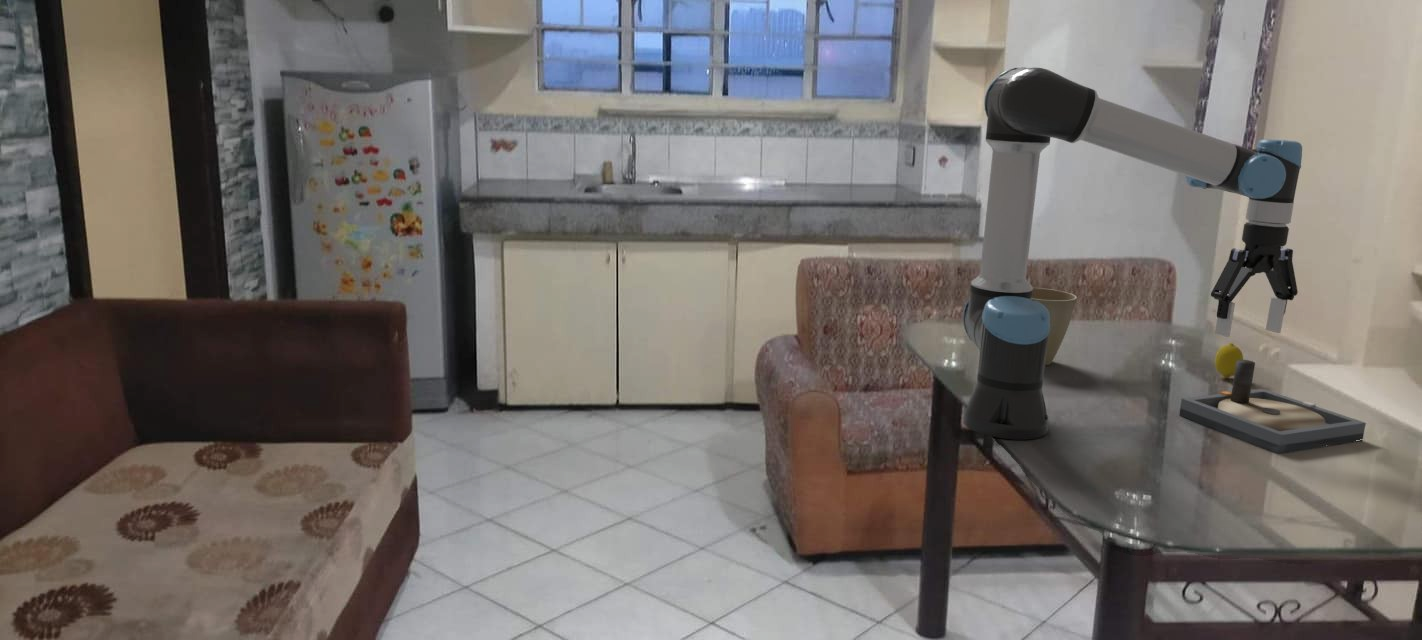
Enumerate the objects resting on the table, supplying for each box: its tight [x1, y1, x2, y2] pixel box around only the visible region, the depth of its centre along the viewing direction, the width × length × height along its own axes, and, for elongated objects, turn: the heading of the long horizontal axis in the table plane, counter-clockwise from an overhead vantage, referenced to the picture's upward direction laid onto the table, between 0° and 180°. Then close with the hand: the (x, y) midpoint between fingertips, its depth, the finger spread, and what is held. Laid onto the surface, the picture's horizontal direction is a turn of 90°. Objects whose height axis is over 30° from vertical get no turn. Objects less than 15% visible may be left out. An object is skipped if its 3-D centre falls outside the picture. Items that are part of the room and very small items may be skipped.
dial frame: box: [1178, 388, 1367, 455], centre depth 198 cm, size 22×22×4 cm
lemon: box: [1214, 343, 1244, 379], centre depth 231 cm, size 6×6×8 cm
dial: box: [1218, 359, 1325, 431], centre depth 197 cm, size 18×18×10 cm
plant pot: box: [1032, 287, 1078, 366], centre depth 238 cm, size 15×15×16 cm
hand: (1247, 333), depth 201 cm, fingers open, 13 cm apart
